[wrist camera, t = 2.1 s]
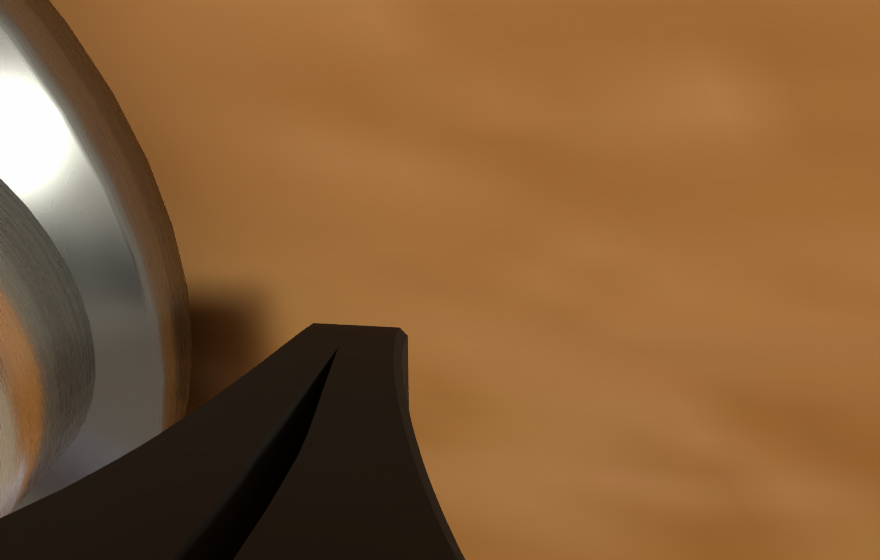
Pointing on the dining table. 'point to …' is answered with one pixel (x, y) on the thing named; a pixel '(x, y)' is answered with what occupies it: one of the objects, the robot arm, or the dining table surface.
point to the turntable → (96, 234)
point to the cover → (38, 353)
